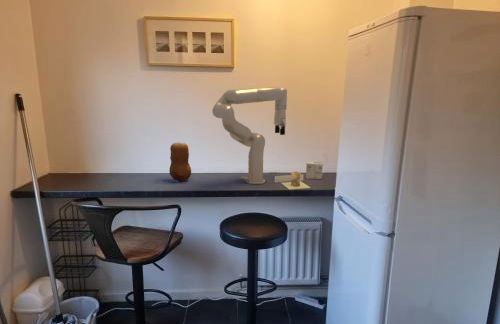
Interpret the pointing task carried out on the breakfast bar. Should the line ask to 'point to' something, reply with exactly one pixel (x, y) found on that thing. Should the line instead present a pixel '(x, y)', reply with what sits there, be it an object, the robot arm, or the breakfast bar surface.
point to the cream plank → (285, 178)
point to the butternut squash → (179, 162)
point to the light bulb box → (314, 170)
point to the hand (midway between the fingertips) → (279, 133)
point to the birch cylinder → (295, 179)
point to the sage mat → (290, 187)
